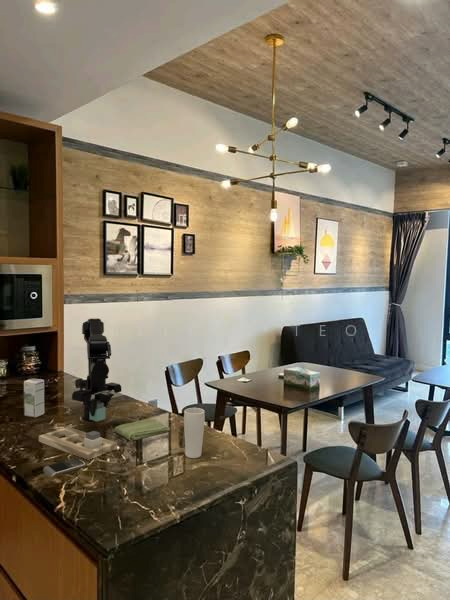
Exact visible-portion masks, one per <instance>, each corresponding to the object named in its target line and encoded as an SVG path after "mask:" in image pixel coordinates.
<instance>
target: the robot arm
mask: <svg viewBox="0 0 450 600" xmlns="http://www.w3.org/2000/svg"><path fill="white" fill-rule="evenodd" d="M104 325H105V322H103V321H102V319H101V318H88V319H87V320H86V321H84V322H83V323H82V325H81V326H82V327H81V334H82V335H83V340H84V341H85V343H86V352H87V353H86V354H87V362H88V363H87V367H88V371H87V372H88V373H87V374H88V375H87V376H86V379H84V380H83V378H77V379H75V381H74V385H75V388H76V389H79V390H75V391H73V392H72V393H71V400H72V401H76V402H80V403H82V405H83V406H84V407H83V408H84V409H83V416H81V418H82V419H84V420H87V421H89V422H95V421H94V420H90V419H89V414H90V413H91V416H94V415H95V410H96V404H97V401H99V402H103V403H104V407H105V410H107V409H106V408H107V407H108V405H109V403H110V401H111V399H112V398H113V397H114V396H115V394H118V393H121V392H122V385H121V384H120V383H116V382H113V381H112V382H108V383H107V379H109V372H110V368H109V365H108V363H107V359H108V360H110V359H111V356H112V349H111V344H110V341H108V338H107V336H105V335H103V334H104V332H105V326H104ZM112 391H113V392H114V393H112Z"/></svg>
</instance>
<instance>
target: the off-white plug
mask: <svg viewBox="0 0 450 600" xmlns="http://www.w3.org/2000/svg"><path fill="white" fill-rule="evenodd" d="M102 438H103V437H101V432H99V431H95V430H93V431H90V432H86V438H84V447H86V448H88V449H91V450H92V449H95V448H98V447H100V446H102Z"/></svg>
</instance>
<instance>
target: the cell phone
mask: <svg viewBox="0 0 450 600" xmlns="http://www.w3.org/2000/svg"><path fill="white" fill-rule="evenodd" d="M85 466H86V463H85V462H84V461H83V460H81V459H79V458H75V457H74V458H71V459H67V460H65V461H64V460H63V461H60V462H57V463H56V462H55V463H52V464H49V465H46V466H44V467H43V470H42V471H43V472H44V473H45V474H46V475H47V476H49V477H51V478H52V477H56V476H59V475H62V474H66V473H69V472H73V471H75V470H79V468H80V469H83V468H85ZM82 467H83V468H82Z"/></svg>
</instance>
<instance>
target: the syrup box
mask: <svg viewBox="0 0 450 600" xmlns="http://www.w3.org/2000/svg"><path fill="white" fill-rule="evenodd" d="M44 414H45V379H41V378H40V379H39V378H29V379H27V380H24V381H23V417H28V418H29V417H30V418H38V417H40V416H42V415H44Z"/></svg>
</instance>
